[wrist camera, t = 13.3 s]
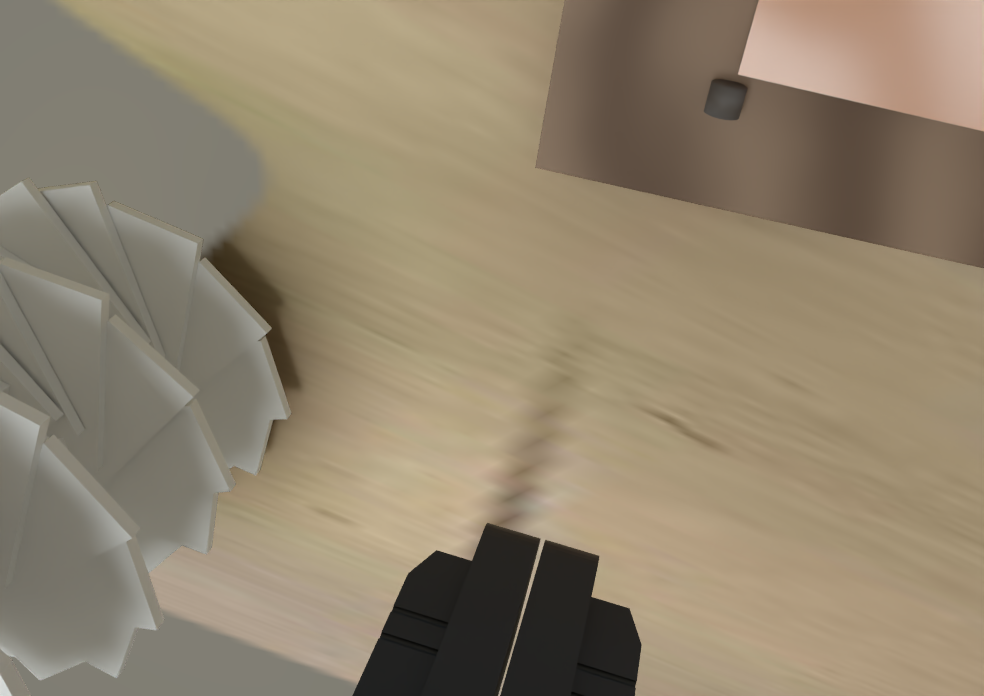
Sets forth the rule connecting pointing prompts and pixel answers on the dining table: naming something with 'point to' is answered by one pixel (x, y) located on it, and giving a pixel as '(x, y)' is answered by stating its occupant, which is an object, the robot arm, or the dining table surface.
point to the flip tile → (876, 53)
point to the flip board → (750, 132)
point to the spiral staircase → (112, 419)
